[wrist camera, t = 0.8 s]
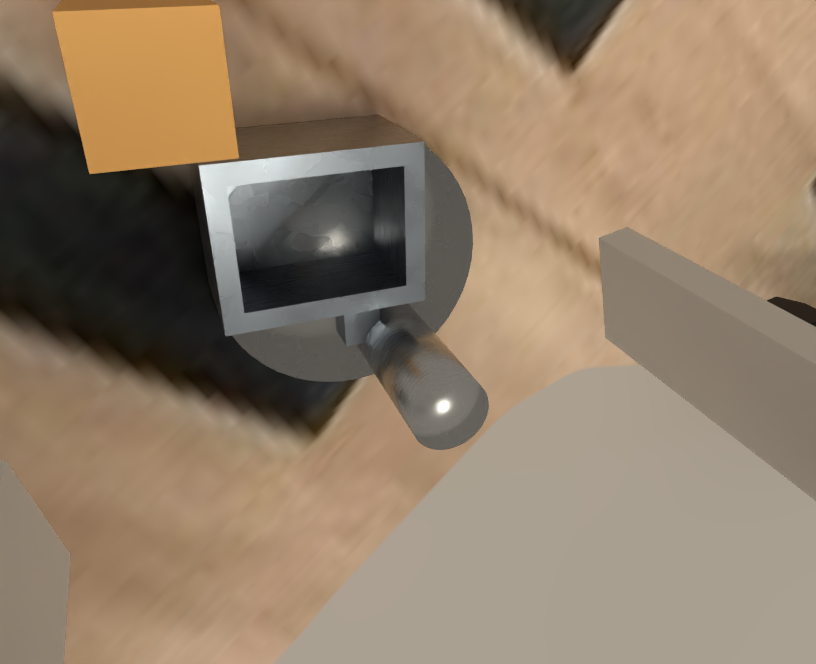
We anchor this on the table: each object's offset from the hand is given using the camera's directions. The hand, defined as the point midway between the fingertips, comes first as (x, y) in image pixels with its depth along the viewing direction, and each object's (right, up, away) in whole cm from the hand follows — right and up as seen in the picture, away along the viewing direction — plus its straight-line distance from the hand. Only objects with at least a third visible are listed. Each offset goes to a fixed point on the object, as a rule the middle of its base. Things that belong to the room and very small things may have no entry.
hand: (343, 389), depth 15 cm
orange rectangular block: (-11, +15, +17) cm, 25 cm away
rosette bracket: (-2, +6, +25) cm, 26 cm away
